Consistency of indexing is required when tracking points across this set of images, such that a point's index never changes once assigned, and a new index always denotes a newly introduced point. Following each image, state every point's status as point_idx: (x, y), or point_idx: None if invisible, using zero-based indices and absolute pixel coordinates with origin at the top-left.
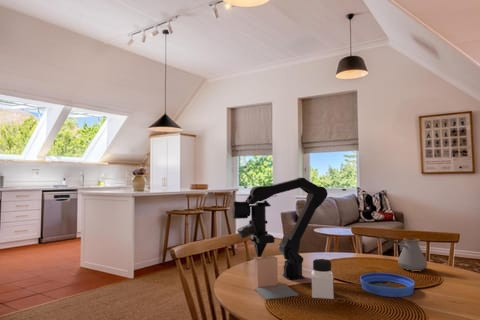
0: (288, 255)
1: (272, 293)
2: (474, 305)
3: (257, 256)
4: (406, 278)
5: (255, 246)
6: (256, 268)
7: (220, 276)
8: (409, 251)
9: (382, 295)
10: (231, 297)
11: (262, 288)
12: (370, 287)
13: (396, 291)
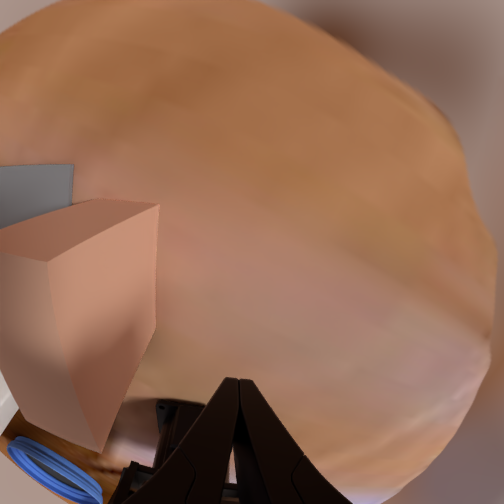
0: (119, 495)
1: (3, 221)
2: (6, 456)
3: (242, 384)
4: (68, 497)
5: (264, 495)
6: (45, 222)
7: (412, 93)
8: None
9: (18, 436)
10: (54, 32)
11: (57, 207)
12: (23, 445)
13: (10, 447)
